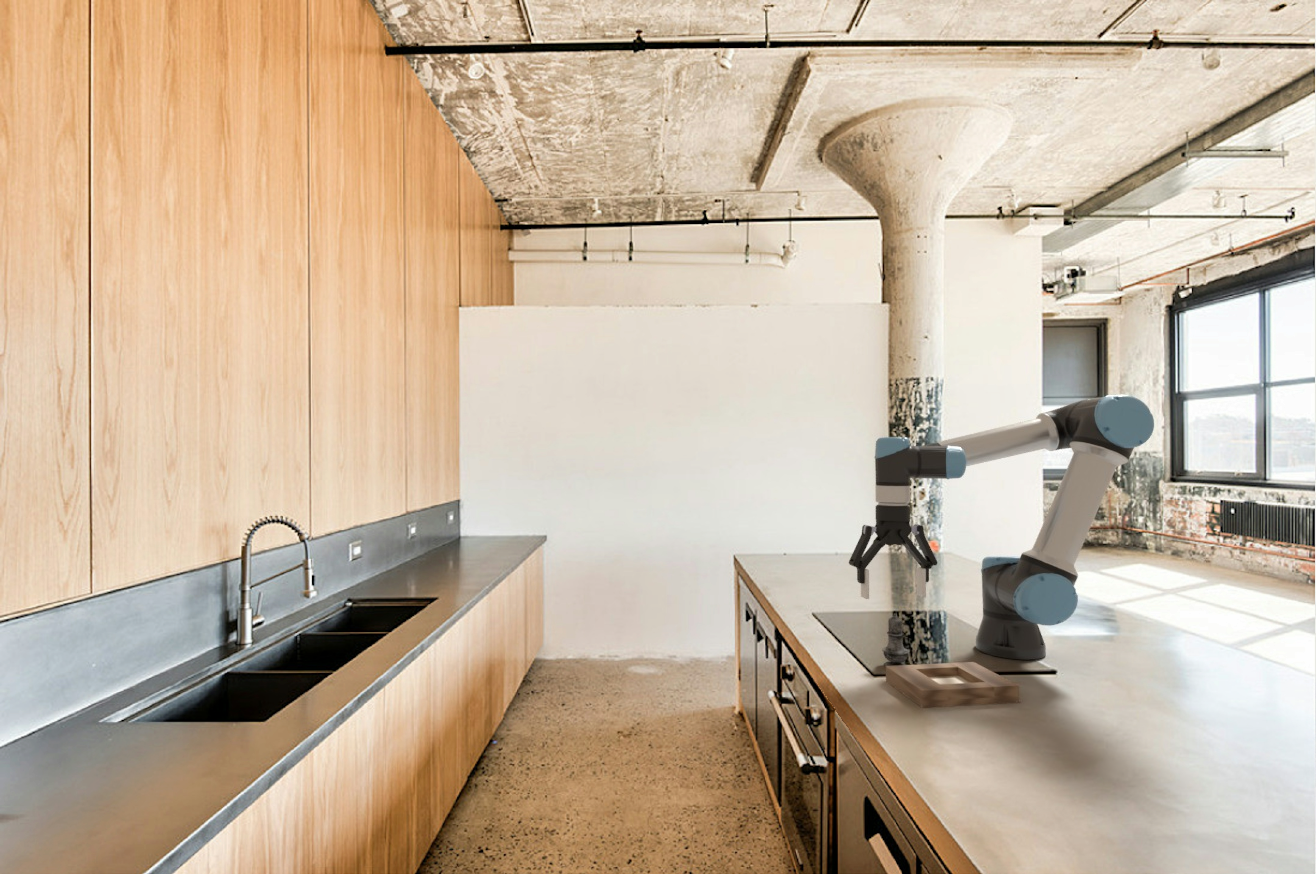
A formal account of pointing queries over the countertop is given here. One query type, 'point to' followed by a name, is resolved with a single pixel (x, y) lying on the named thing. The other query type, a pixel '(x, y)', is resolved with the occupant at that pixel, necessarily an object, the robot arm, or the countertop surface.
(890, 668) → the wooden frame
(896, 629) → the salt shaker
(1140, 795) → the countertop surface
